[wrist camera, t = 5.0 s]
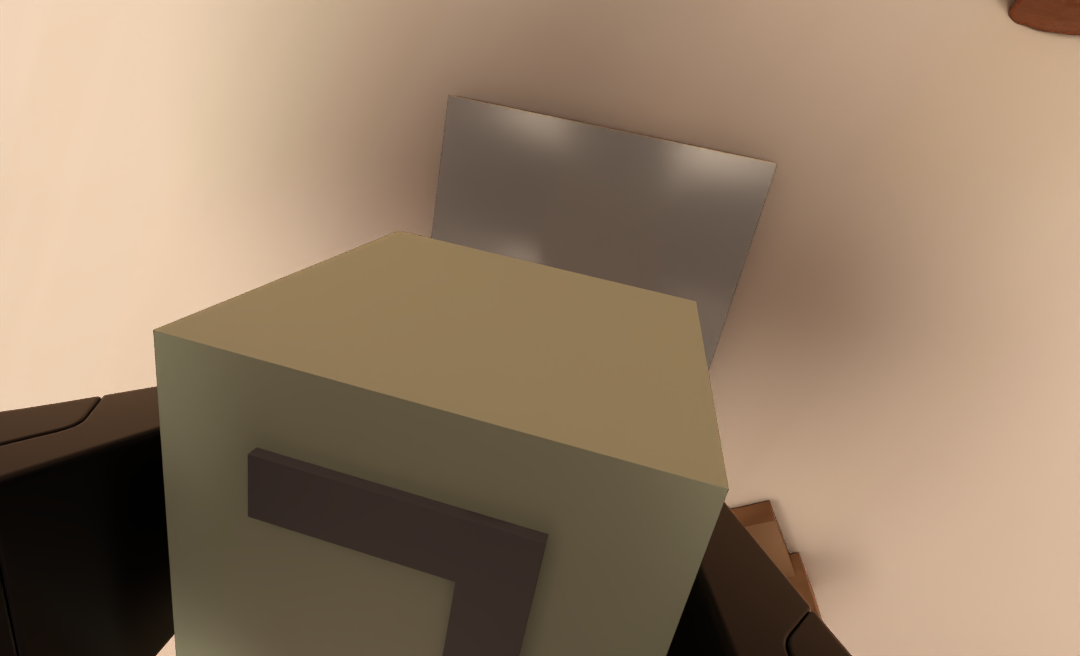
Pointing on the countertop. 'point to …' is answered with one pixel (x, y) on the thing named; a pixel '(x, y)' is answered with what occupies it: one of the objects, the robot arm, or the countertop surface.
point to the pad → (600, 203)
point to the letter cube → (436, 460)
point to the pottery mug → (1048, 15)
